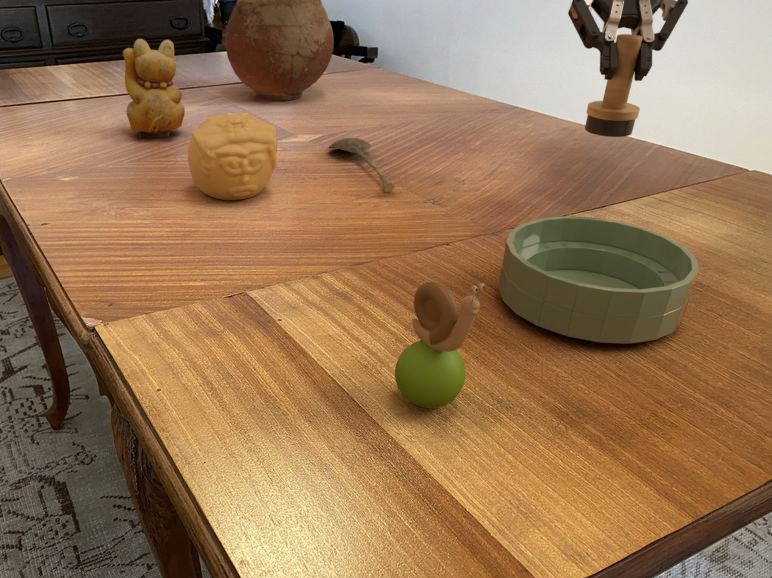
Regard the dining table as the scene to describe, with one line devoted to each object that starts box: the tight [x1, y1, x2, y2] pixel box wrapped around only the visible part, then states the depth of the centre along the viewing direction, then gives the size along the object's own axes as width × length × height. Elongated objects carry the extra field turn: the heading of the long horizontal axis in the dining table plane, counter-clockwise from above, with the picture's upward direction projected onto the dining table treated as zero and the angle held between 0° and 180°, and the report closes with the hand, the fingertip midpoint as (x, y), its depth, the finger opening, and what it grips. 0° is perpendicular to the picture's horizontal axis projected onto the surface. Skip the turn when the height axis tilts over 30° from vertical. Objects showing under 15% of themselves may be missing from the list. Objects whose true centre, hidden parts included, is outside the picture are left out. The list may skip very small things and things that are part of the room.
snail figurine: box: [394, 281, 486, 409], centre depth 53 cm, size 5×6×12 cm
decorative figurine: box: [122, 38, 186, 139], centre depth 117 cm, size 10×8×15 cm
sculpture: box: [187, 111, 278, 201], centre depth 94 cm, size 12×12×11 cm
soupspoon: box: [328, 137, 396, 194], centre depth 106 cm, size 22×3×7 cm
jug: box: [224, 0, 335, 102], centre depth 138 cm, size 22×22×30 cm
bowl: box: [497, 215, 700, 345], centre depth 69 cm, size 17×17×6 cm
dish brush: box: [584, 33, 643, 138], centre depth 86 cm, size 6×6×11 cm
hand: (625, 75), depth 83 cm, fingers closed on dish brush, 3 cm apart
